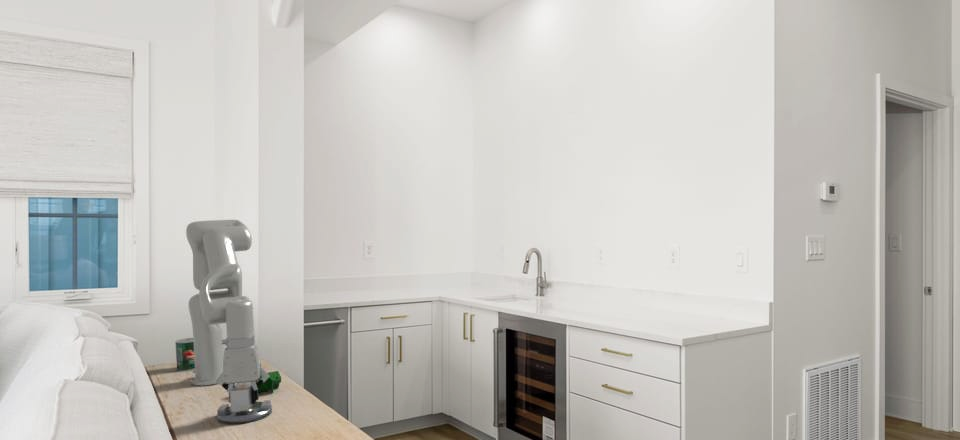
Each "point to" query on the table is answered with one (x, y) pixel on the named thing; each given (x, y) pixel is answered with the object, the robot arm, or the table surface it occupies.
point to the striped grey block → (241, 397)
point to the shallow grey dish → (244, 413)
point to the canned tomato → (185, 354)
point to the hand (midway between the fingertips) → (244, 402)
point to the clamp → (270, 382)
